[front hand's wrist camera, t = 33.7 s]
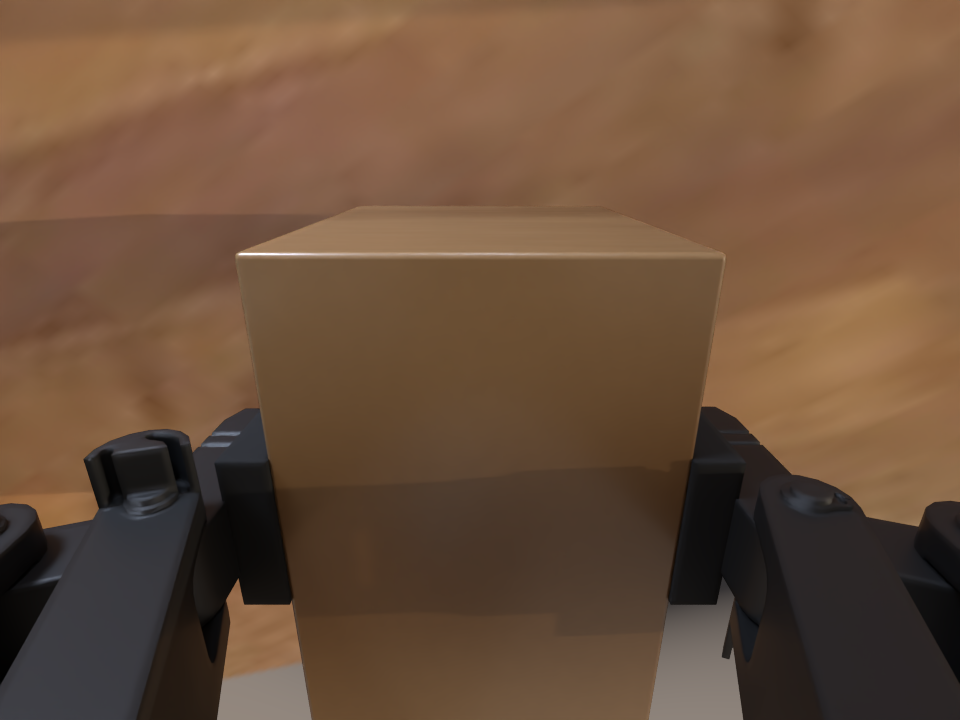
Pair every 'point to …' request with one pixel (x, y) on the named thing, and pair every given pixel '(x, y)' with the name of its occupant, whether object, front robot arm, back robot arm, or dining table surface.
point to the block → (480, 452)
